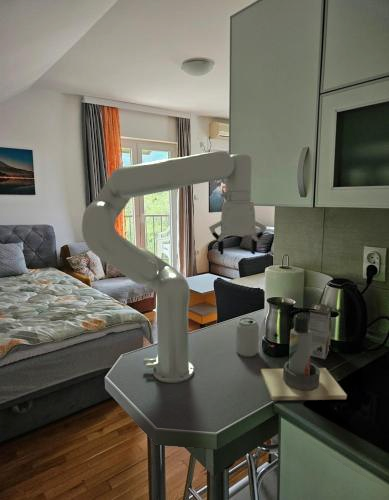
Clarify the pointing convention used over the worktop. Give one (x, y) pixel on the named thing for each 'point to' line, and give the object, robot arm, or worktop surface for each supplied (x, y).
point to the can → (247, 337)
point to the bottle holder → (301, 384)
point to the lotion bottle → (300, 346)
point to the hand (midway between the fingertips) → (237, 253)
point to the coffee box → (320, 329)
